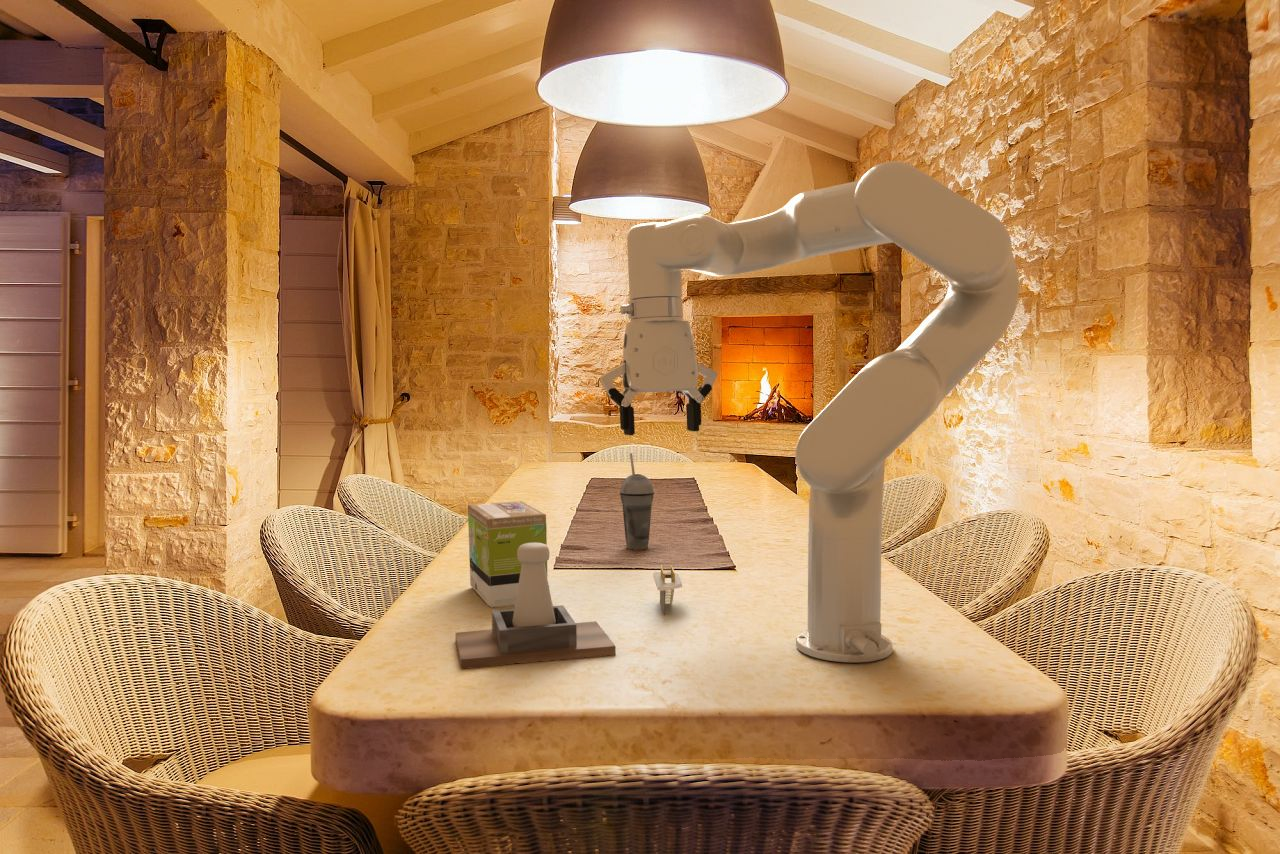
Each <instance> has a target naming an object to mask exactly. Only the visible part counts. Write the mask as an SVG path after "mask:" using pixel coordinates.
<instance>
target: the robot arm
mask: <svg viewBox="0 0 1280 854" xmlns="http://www.w3.org/2000/svg"><path fill="white" fill-rule="evenodd" d="M626 240H627V241H626V246H627V248H626V250H627V267H628V273H627V274H628V289H629V291H628V292H629V295H628V296H629V301H628V302H627V303H626V304H621V305H620V309H619V310H620V315H626V316H628V319H629V320H630V322H627V323H625V330H624V336H623V337H624V338H623V349H622V363H621V364H620V365H618V366H615V368H612V369H611V370H609V371H608V372H605V373H604V374H603V375H601V376H600V377H599V381H600V384H601V386H602V388H603V389H604V390H605V392H606V395H607V396H608V398H610V399H611V400H612V401H613V402H614V403H615V404H616V405H617V407H619V423H620V424H619V427H620V429H621V430H622V431H623V434H624V436H633V435H635V434H636V432H635V431H636V430H635V429H636V427H635V409H634V407H633V406H632V404H631V403H632V402H633V401H634V399H635V398H636V397H637V396H638V394H639V393H659V392H660V393H661V392H681V393H682V394H683V395H684V397H686V399H688V403H686V405H685V407H686V408H685V410H686V411H685V412H686V430H687V431H689V432H699V431H700V426H701V425H702V403H703V402H704V401H705V398H706V397H707V396H708V395H709V394H710V393H711V391H712V389H713V388H712V387H713V385H714V384H715V382H716V379H717V376H718V373H717V372H716V371H715V370H713V369H711V368H709V367H707V366H705V365H704V364H702V363H700V362H698V361H697V354H696V353H697V352H696V348H695V341H694V336H693V331H692V327H691V323H690V321H689V320H684V307H683V277H682V275H683V274H682V270H685V271H686V270H687V271H693V272H697V273H701V274H706V275H709V276H713V277H726V276H733V275H738V274H739V275H740V274H746V273H750V272H757V271H762V270H766V269H770V268H774V267H778V266H782V265H783V266H784V265H786V264H791V263H794V262H795V263H796V262H801V261H804V260H806V259H810V258H814V257H815V258H816V257H819V256H826V255H831V254H835V253H840V252H846V251H847V252H848V251H852V250H856V249H857V250H858V249H862V248H868V247H874V246H879V245H880V246H881V245H884V244H885V245H886V244H890V243H891V244H892V243H893V244H894V245H896V246H898V247H900V248H901V249H902V250H904V251H905V252H907V253H909V254H910V255H912V256H913V257H915V258H916V259H918V260H920V262H923V263H925V264H926V265H928V267H931V268H932V269H934V270H935V271H936V272H938V273H939V274H941V275H942V276H943V277H944V278H945V279H946V280H947V282H948V288H947V292H946V295H945V297H944V298H943V300H942V301H941V302H940V303H939V305H938V306H937V307H936V308H935V309H933V311H931V313H930V314H929V315H927V317H925V319H924V320H922V322H921V323H920V325H918V327H917V328H916V329H915V330H914V331H913V332H912V333H911V334H910V335H909V336H908V337H907V338H906V339H905V340H904V341H903V342H902V343H901V344H900V345H899V346H898V347H897V348H896V349H895V350H893V351H890V352H889V351H888V352H886V353H884V354H880V355H879V356H877V357H875V358H874V359H872V360H870V361H869V362H868V363H867V364H866V365H864V367H863V368H862V369H860V371H859V372H857V374H856V375H855V376H854V377H852V379H851V380H850V381H849V382H848V383H847V384H846V385H845V386H844V387H843V388H842V390H840V392H839V393H837V395H836V396H834V398H833V399H832V400H831V401H830V402H829V403H828V404H827V405H826V406H825V407H824V408H823V409H822V410H821V411H820V412H819V413H818V415H816V416H815V418H813V420H812V421H811V422H810V423H809V424H807V426H806V427H805V428H804V429H803V431H802V433H801V435H800V436H799V438H798V440H797V444H796V446H795V454H794V455H795V457H794V458H795V463H796V468H797V470H798V472H799V474H800V476H801V478H802V479H803V480H804V481H805V482H806V484H808V485H809V486H810V489H809V500H808V501H809V504H808V532H807V533H808V537H807V539H808V540H807V541H808V542H807V630H803V631H802V632H800V633H798V634H797V635H796V637H795V647H796V648H797V650H799V651H800V652H801V653H803V654H804V655H806V656H809V657H812V658H815V659H818V660H824V661H829V662H835V663H836V662H837V663H852V664H853V663H857V664H859V663H868V662H869V663H870V662H876V661H880V660H883V659H886V658H887V657H889V656H891V654H892V653H893V642H892V641H891V640H890V639H889V638H888V637H887V636H885V635H883V634H882V623H881V616H882V615H881V609H882V608H881V606H882V605H881V604H882V599H881V598H882V597H881V596H882V589H881V588H882V536H883V500H884V498H883V497H884V482H885V470H886V469H885V468H886V460H887V459H888V457H890V456H891V455H892V454H893V453H894V452H895V451H896V450H897V449H898V448H899V447H900V446H901V445H902V444H903V443H904V442H905V441H906V440H907V439H908V438H909V437H910V436H911V435H912V434H913V433H914V432H915V431H916V430H917V429H918V428H919V427H920V426H921V425H922V424H923V423H924V422H925V421H927V420H928V419H929V418H930V417H931V416H932V415H933V414H934V413H935V411H936V410H937V408H939V405H940V404H941V403H942V401H944V399H945V398H946V397H947V396H948V395H949V394H950V393H951V391H953V390H954V388H955V387H957V385H959V384H960V382H961V381H963V380H964V378H965V377H967V375H969V373H970V372H971V371H972V370H973V369H974V368H975V367H976V365H978V364H979V362H981V360H983V358H984V357H985V356H986V355H987V354H988V353H989V352H990V351H991V349H993V348H994V347H995V345H997V343H998V342H999V341H1000V339H1001V338H1002V337H1003V336H1004V334H1005V332H1006V331H1007V330H1008V328H1009V326H1010V324H1011V322H1012V320H1013V319H1014V315H1015V314H1016V311H1017V307H1018V302H1019V296H1020V280H1019V279H1020V277H1019V273H1018V269H1017V264H1016V261H1015V258H1014V254H1013V247H1012V239H1011V235H1010V232H1009V231H1008V229H1007V227H1006V226H1005V225H1004V223H1003V222H1002V221H1001V220H1000V219H999V218H998V217H996V216H995V215H994V214H992V213H991V212H989V211H987V210H986V209H985V208H982V207H981V206H980V205H979V204H976V203H975V202H973V201H971V200H970V199H967V198H966V197H964V196H963V195H961V194H959V193H957V192H956V191H954V190H952V189H951V188H949V187H948V186H946V185H944V184H943V183H941V182H939V181H938V180H937V179H935V178H933V177H932V176H930V175H929V174H927V173H925V171H924V172H923V171H922V170H920V169H918V168H917V167H915V166H914V165H911V164H909V163H906V162H904V161H896V160H893V161H885V162H881V163H878V164H876V165H874V166H873V167H871V168H870V169H869V170H868V171H866V172H865V173H864V174H863V175H862V176H861V178H860V180H857V181H851V182H846V183H842V184H836V185H832V186H827V187H822V188H818V189H813V190H812V189H811V190H807V191H803V192H800V193H798V194H797V195H794V197H792V198H791V199H790V200H789V201H788V202H787V203H786V204H785V205H784V206H783V207H781V208H779V209H778V210H776V211H774V212H771V213H769V214H765V215H763V216H759V217H754V218H749V219H745V220H740V221H736V222H735V221H734V222H730V223H725V222H723V221H721V220H719V219H717V218H715V217H712V216H710V215H706V214H691V215H687V216H683V217H680V218H677V219H673V220H669V221H666V222H646V223H639V224H637V225H636V224H635V225H634V226H632V227H631V228H630V229H629V230H628V232H627V236H626ZM698 374H699V375H700V376H702V377H703V381H702V383H701V385H700V386H699V387H698V388H697V386H698V383H699V382H698V381H699V375H698ZM621 376H622V385H623V388H624V390H623V392H620V390H618V389H617V388H616V386H615V384H614V381H615V380H616V379H617V378H620V377H621Z"/></svg>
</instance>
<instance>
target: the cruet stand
mask: <svg viewBox="0 0 1280 854" xmlns="http://www.w3.org/2000/svg"><path fill="white" fill-rule="evenodd" d="M553 609H554V614H555V619H556V623H555V624H550V625H537V626H524V627H514V626H513V622H512V621H513V615H514V608H510V609H509V608H508V609H506V608H505V609H497V610H496V609H495V610H491V622H492V625H491V626H492V628H491V629H486V630H473V631H460V632H459V631H457V632H455V634H454V635H455V645H456V650H457V655H458V659H459V663H460V668H465V669H469V668H468V667H476V668H482V667H481V666H487V667H496V666H495V665H498V666H505V665H504V664H509V665H515V664H514V663H520V664H527V663H526V662H532V663H538V662H537V661H543V662H549V661H548V660H554V661H560V660H559V659H565V660H573V659H572V658H576V659H585V658H584V657H587V658H596V656H598V657H607V655H609V656H615V655H616V654H617V653H616V652H617V651H616V645H615V643H614V642H613V641H612V639H610V637H609V636H608V635H607V633H606V632H605V630H603V628H602V627H601V626H600V624H599V623H598V622H597V621H586V622H585V621H583V622H575V620H574V619H573V618H572V616H571V615H570V613H569V611H568V610H567V609H566V607H565V606H564V605H563V604H562V605H553Z"/></svg>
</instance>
